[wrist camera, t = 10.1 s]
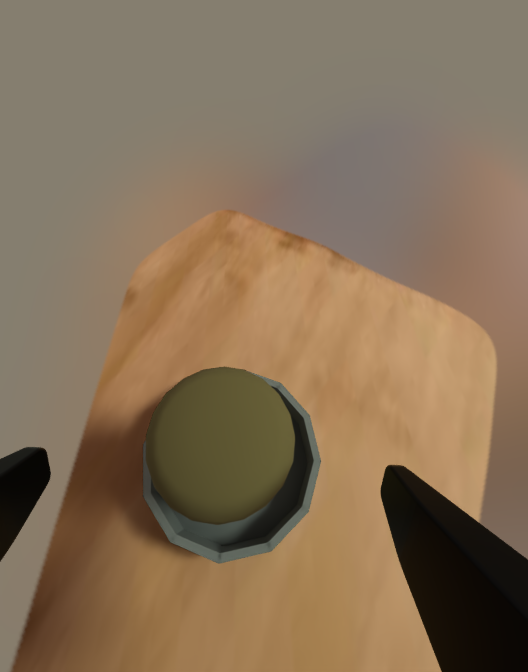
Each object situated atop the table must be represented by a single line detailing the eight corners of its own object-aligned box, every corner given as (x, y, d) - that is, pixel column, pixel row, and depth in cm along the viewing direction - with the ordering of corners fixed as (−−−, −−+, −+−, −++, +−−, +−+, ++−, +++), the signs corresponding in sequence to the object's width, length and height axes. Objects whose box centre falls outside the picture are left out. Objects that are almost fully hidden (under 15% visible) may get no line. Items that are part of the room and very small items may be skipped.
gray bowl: (328, 529, 18) (339, 535, 16) (157, 568, 17) (143, 581, 14) (291, 373, 22) (296, 361, 20) (154, 395, 21) (142, 384, 19)
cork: (165, 472, 18) (70, 455, 9) (225, 394, 21) (206, 313, 11) (242, 538, 17) (235, 609, 7) (298, 447, 19) (349, 408, 10)
